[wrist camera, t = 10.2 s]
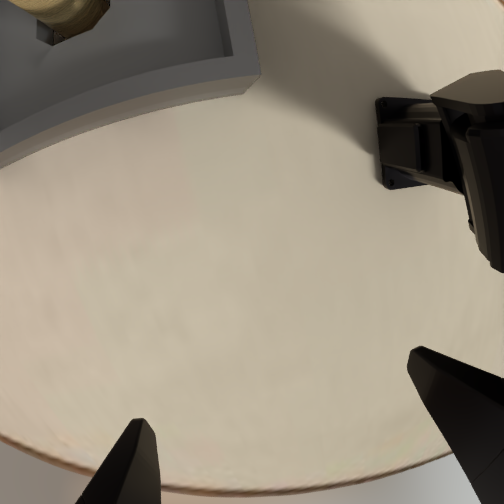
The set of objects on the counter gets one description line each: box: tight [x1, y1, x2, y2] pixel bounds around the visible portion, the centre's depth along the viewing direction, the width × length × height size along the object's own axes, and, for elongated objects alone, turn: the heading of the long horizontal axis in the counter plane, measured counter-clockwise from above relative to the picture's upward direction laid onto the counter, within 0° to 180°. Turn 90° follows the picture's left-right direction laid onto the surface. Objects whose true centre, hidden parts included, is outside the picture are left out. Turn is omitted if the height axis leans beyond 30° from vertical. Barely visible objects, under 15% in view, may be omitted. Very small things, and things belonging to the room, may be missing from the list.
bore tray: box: [0, 0, 261, 169], centre depth 9 cm, size 18×16×6 cm
